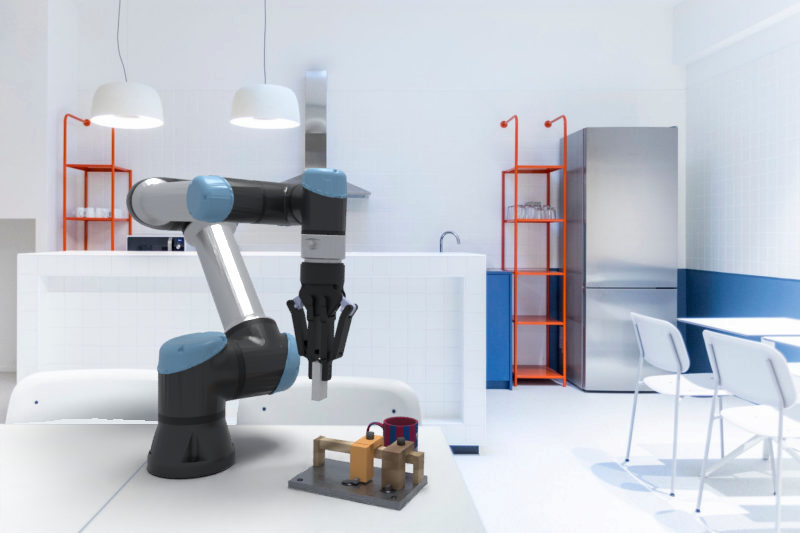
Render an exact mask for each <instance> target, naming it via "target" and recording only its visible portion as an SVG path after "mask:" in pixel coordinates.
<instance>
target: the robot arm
mask: <svg viewBox="0 0 800 533" xmlns="http://www.w3.org/2000/svg"><path fill="white" fill-rule="evenodd" d="M347 182H348V179H347V174H346V173H345V172H344V171H343V170H340V169H336V168H327V167H326V168H325V167H312V168H311V167H310V168H307V169H304V171H303V173H302V178H301V182H298V183H286V182H277V181H267V180H266V181H265V180H254V179H253V180H252V179H245V178H244V179H243V178H235V177H234V178H233V177H225V176H220V175H197V176H195V177H193V179H184V178H176V177H175V178H173V177H165V176H163V177H162V176H157V177H149V178H144V179H141V180H139V181H137V182H135V183H134V184H133V185H132V186H131V187H130V189H128V192H127V194H126V199H125V204H126V209H127V211H128V214H129V215H130V216H131V218H132V219H133V220H134V221H135V222H137V223H138V224H140V225H142V226H144V227H146V228H150V229H152V230H157V231H158V230H159V231H167V232H168V231H170V232H171V231H172V232H173V231H174V232H181V233H182V235H183V238H184V240H185V242H186V243H187V244H188V245H189V246H190V247H192V248H195V251H196V253H197V256H198V260H199V262H200V264H201V268H202V270H203V275H204V277H205V279H206V282H207V286H208V287H209V291H210V293H211V297H212V299H213V302H214V304H215V307H216V311H217V314H218V317H219V320H220V322H221V325H222V328H223V330H224V331H223V332H220V331H205V332H204V331H203V332H193V333H188V334H184V335H179V336H175V337H173V338H170V339H168V340H166V341H165V342H164V343H162V344H161V346H160V348H159V351H158V362H157V363H158V364H157V366H156V371H157V426H156V429H155V432H154V435H153V438H152V441H151V445H150V449H149V450H148V452H147V457H146V460H147V461H146V466H147V467H146V469H147V471H148V473H150V474H152V475H155V476H157V477H162V478H169V479H190V478H191V479H192V478H198V477H204V476H209V475H213V474H216V473H220V472H222V471H224V470H226V469H228V468H230V467H231V466H232V465H234V463H235V461H236V447H235V444H234V443H233V441H232V437H231V433H230V430H229V429H230V428H229V426H228V423H227V419H226V415H227V414H226V404H227V402H230V401H235V400H242V399H247V398H255V397H261V396H266V395H268V396H272V395H274V394H277V393H281V392H285V391H287V390H289V389H290V388H291V387H292V386H293V385H294V384H295V382H296V380H297V378H298V376H299V372H300V365H301V357H303V358H306V359H307V361H308V365H307V366H308V367H307V370H308V372H307V373H308V374H307V377H308V379H309V380H311V398H310V399H311V401H314V402H320V401H322V400H326V399H327V398H328V381H330V380H331V379H332V376H333V374H332V373H333V362H334V361H335V360H337V359H340V358H343V356H344V352H345V349H346V348H345V347H346V345H347V339H348V336H349V334H350V333H349V332H350V328H351V324H352V321H353V317H354V316H355V314H356V312H357V311H358V309H359V305H358V304H357V303H353V302H352V301H350V300H349V299H347V295H346V294H347V293H346V291H345V289H344V285H345V280H346V279H345V278H346V277H345V274H346V264H345V263H343V262H342V260H345V259H346V242H347V240H346V238H347V237H346V236H347V235H346V232H347V211H348V210H347V207H348V206H347V205H348V197H349V193H348V185H347V184H348V183H347ZM239 224H251V225H254V224H255V225H269V226H271V225H272V226H278V227H287V228H288V227H293V226H294V227H296V226H298V227H299V226H301V229H300V230H301V231H300V258H302V259H303V260H304V261H301V263H300V264H299V265H300V266H299V269H300V270H299V282H300V284H301V285H300V289H299V291H298V295H297V296H296V297H294V298H293V299H287V301H286V303H285V304H286V307H287V309H288V310H289V313H290V316H291V320H292V321H291V322H292V326H293V327H292V328H293V332H294V335H293V334H291V333H289V332H287V331H286V332H285V331H284V332H282V333H281V331H280V328H279V326H278V325H277V322H276V320H275V319H274V318H273V317H271V316H266V314H265V312H264V310H263V309H264V308H263V307H262V304H261V301H260V299H259V296H258V295H257V292H256V288H255V287H254V284H253V281H252V279H251V277H250V274H249V271H248V268H247V266H246V263H245V261H244V258H243V256H242V253H241V251H240V248H239V245H238V242H237V240H236V238H235V236H234V235H235V233H236V231H237V227H238V225H239ZM304 308H305V309H304ZM305 310H306V313H305ZM338 311H340V312H341V313H340V315H339V317H338V321H337V325H336V328H335V322H336V320H337V312H338ZM335 329H336V330H335Z"/></svg>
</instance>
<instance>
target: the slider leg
mask: <svg viewBox="0 0 800 533" xmlns="http://www.w3.org/2000/svg"><path fill="white" fill-rule="evenodd" d="M353 442H354V443H353V444H352V445H350V454H349V462H350V480H353V483H355V484H357V483H358V482H367V481H369V480H370V479H371V478H373V475H374V467H375V465H374V464H375V462H374V461H375V460H374V459H375V458H374V449H375V448H377V447H378V446H383V447H384V440H383V435H378V434H375V432H374V431H370V430H369V432H365V435H363V436H362V437H360V438H359V439H357V440H355V441H353Z"/></svg>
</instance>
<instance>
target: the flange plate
mask: <svg viewBox="0 0 800 533" xmlns="http://www.w3.org/2000/svg"><path fill="white" fill-rule="evenodd" d="M381 475H382V467H381V466H380V467H379V466H374V475H373V478H371V479H370V480H369V481H367V482H358V483H357V484H355V483H353V480H350V461H349V462H348V461H345V460H339V459H338V460H337V459H333V458H327V457H325V462H324V463H323V464H321V465H319V466H313V465H311V466H309V467H308V468H307V469H305V470H303V471H301V472H300V473H299V474H297V475H296V476H294V477H292V478H290V479H289V480H288V481H287V488H288V489H292V490H297V491H301V492H307V493H310V494H311V493H312V494H315V495H321V496H326V497H332V498H337V499H342V500H347V501H351V502H357V503H361V504H366V505H372V506H377V507H382V508H387V509H392V510H398V511H401V510H402V508H404V507H405V505H407V504H408V503H409V502H410V501H411V500H412V499H413V498H414V497H415V496H416V495H417V494H418V493H419V491H421V490H422V488H424V487H425V486H426V485H427V484H428V475H426V474H425V475H424V480H423V481H422V482H420V483H419V484H414V483H413V472H408V471H405V485H404V486H403V487H402V488H401V489H399V490H396V489H391V490H390V491H385V487H381Z"/></svg>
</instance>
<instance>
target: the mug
mask: <svg viewBox="0 0 800 533" xmlns="http://www.w3.org/2000/svg"><path fill="white" fill-rule="evenodd" d="M382 422H383V423H382ZM382 422H378V421H372V422H370V423H368V425H367V428H366V432H369V431H370V428H371V427H372V426H378V427H380V428H381V429H382V436H383V440H384V447H387V446H389V445H391V444H392V443H394V442H395V441H397V438H398V437H404V438H405V441H412V442H414V451H415V452H418V451H419V448H418V447H419V420H418V419H416V418H414V417H409V416H390V417H387V418H385V419H384V420H383V421H382ZM366 432H365V433H366Z"/></svg>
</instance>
